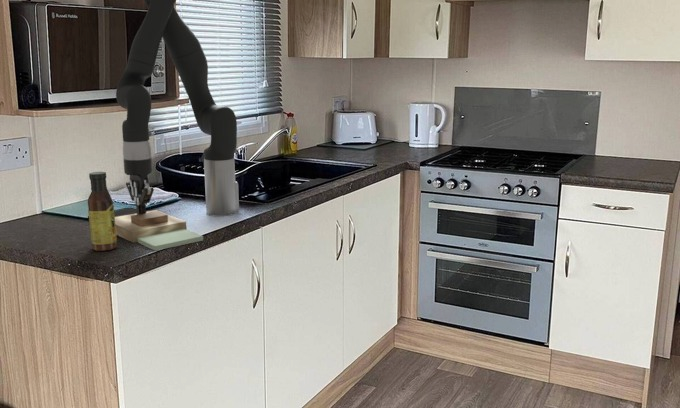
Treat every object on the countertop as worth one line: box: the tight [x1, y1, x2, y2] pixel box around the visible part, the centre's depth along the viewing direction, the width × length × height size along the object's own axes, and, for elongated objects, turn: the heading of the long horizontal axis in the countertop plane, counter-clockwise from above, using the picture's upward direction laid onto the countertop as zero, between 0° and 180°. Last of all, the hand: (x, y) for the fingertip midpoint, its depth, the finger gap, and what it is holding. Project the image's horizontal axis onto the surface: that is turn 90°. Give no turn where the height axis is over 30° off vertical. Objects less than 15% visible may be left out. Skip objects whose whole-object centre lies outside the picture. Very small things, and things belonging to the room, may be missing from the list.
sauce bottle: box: [87, 171, 118, 252], centre depth 175 cm, size 6×6×20 cm
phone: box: [87, 206, 137, 219], centre depth 210 cm, size 8×1×15 cm
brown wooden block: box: [131, 210, 169, 227], centre depth 190 cm, size 8×6×2 cm
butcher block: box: [115, 209, 188, 244], centre depth 193 cm, size 16×18×3 cm
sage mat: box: [137, 229, 204, 251], centre depth 183 cm, size 14×10×1 cm
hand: (141, 217), depth 194 cm, fingers closed
